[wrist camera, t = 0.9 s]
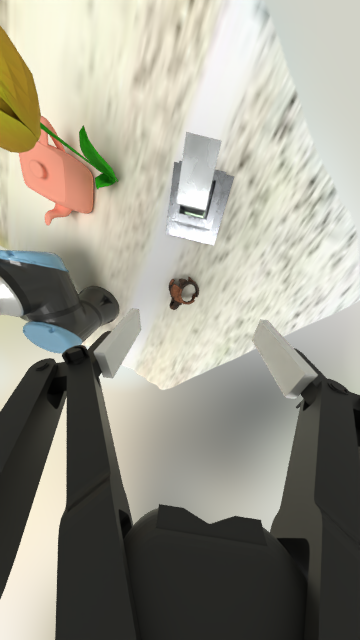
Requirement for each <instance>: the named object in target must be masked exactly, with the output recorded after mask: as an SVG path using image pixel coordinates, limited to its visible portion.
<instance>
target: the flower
mask: <svg viewBox="0 0 360 640" xmlns="http://www.w3.org/2000/svg"><path fill="white" fill-rule="evenodd" d="M40 119H41V113H40V108H39V102H38V95H37V91H36V87H35V83H34V79H33V76H32V73H31V72H30V70H29V68H28V67H27V65H26V64H25V62H24V60H23V59H22V57H21V56H20V54H19V53H18V51H17V49H16V48H15V46H14V45H13V43H12V42H11V40H10V38H9V37H8V35H7V34H6V32H5V31H4V30H3V29H2V27H1V26H0V147H1V148H3V149H6V150H8V151H10V152H17V153H22V152H28V151H29V150H31V149H33V148H34V146H35V144H36V142H37V141H38V140H39V138H40V136H41V129H42V130H44V131H45V132H46V133H48V134H49V135H51V136H52V137H54V138H55V139H56V140H58V141H59V142H61V143H62V144H63V145H65V146H66V147H68V148H69V149H70V150H72V151H73V152H74V153H76V154H77V155H79V156H80V157H81V158H83V159H84V160H85V161H87V162H88V163H90V164H91V165H92V166H94V167H95V168H96V169H97V170H99V171H100V172H102V173H103V174H100V175H99V176H97V177H96V178H95V183H96V187H97V190H98V188H99V187H104V186H109V185H112V184H114V183H115V182H116V181H117V182H118V180H117V178H116V177H115V174H114V172H113V170H112V168H111V167H110V166H109V165H108V164H107V163H106V161H105V160H104V159H103V158H102V157H101V156H100V155H99V153H98V152H97V151H96V150H95V148H94V147H93V145H92V144H91V142H90V141H89V139H88V137H87V134H86V131H85V128H84V126H83V127H82V128H81V130H80V132H79V138H80V148H81V150H82V152H83V154H84V156H85V157H86V158H87V159H88V160H89V161H88V160H87V159H86V158H84V157H83V156H82V155H80V154H79V153H78V152H77V151H75V150H74V149H73V148H72V147H70V146H69V145H68V144H67V143H65V142H64V141H63V140H61V139H60V138H59V137H58V136H56V135H55V134H54V133H53V132H52V131H50V130H49V129H48V128H47V127H46V126H45V125H43V124H42V123H41V122H40ZM40 128H41V129H40Z"/></svg>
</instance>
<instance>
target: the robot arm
mask: <svg viewBox="0 0 360 640" xmlns="http://www.w3.org/2000/svg"><path fill="white" fill-rule="evenodd" d="M118 314H119V306H118V303H117V301H116V299H115V298H114V297H113V295H112V294H110V293H109V292H108V291H106V290H105V289H103V288H100V287H88V288H86V289H84V290H82V291H81V292H80V293H79V295H78V294H77V292H76V289H75V287H74V285H73V283H72V280H71V278H70V276H69V274H68V270H67V269H66V267H65V265H64V263H63V261H62V260H61V258H60V257H59V256H58V255H56V254H54V253H50V252H36V251H10V250H0V315H10V316H16V317H20V316H23V315H27V317H28V318H29V320H30V322H28V323H26V325H25V326H24V327H23V333H24V334H25V336H26V337H27V338H28V339H29V340H30V341H31V342H32V343H34V344H35V345H37V346H39V347H41V348H43V349H45V350H48V351H50V352H54V353H63V354H62V357H63V359H64V361H65V362H61V363H56V362H55V360H54V359H51V358H49V359H44V360H41V361H39V362H37V363H35V364H34V365H32V366H31V367H30V368H29V369H28V371H27V372H26V374H25V376H24V377H23V378H22V380H21V382H20V383H19V385H18V386H17V388H16V389H15V390H14V392H13V393H12V395H11V396H10V398H9V399H8V401H7V403H6V404H5V406H4V407H3V409H2V410H1V412H0V599H1V596H2V594H3V591H4V589H5V586H6V583H7V580H8V577H9V575H10V572H11V569H12V566H13V563H14V560H15V557H16V554H17V551H18V548H19V545H20V542H21V538H22V535H23V532H24V529H25V526H26V522H27V519H28V516H29V513H30V510H31V507H32V503H33V500H34V497H35V494H36V491H37V488H38V485H39V482H40V478H41V475H42V472H43V469H44V466H45V463H46V459H47V456H48V453H49V450H50V447H51V444H52V441H53V437H54V434H55V431H56V428H57V425H58V421H59V419H60V415H61V412H62V409H63V406H64V403H65V399H66V396H67V501H66V508H65V511H64V513H63V515H62V518H61V522H60V526H59V537H58V568H57V601H56V637H55V640H360V395H357V394H354V393H351V392H349V391H348V390H347V389H346V388H345V387H344V386H343V385H341V384H340V383H338V382H336V381H334V380H331V379H327V378H326V377H325V376H324V375H323V374H322V373H321V372H320V371H319V370H318V369H317V368H316V367H315V366H314V365H313V364H312V363H311V362H310V361H309V360H308V359H307V358H306V357H305V355H304V354H302V353H301V352H300V351H298V350H297V349H295V348H293V347H292V346H291V345H290V344H289V343H288V342H287V341H286V340H285V339H284V337H283V336H282V335H281V334H280V333H279V332H278V331H277V330H276V329H275V328H274V327H273V325H272V324H271V323H270V322H269V321H268V320H260V322H259V324H258V326H257V329H256V331H255V333H254V336H253V338H252V341H253V343H254V345H255V346H256V348H257V350H258V352H259V353H260V355H261V357H262V358H263V360H264V362H265V363H266V365H267V367H268V369H269V370H270V372H271V374H272V376H273V377H274V379H275V381H276V382H277V384H278V386H279V388H280V389H281V391H282V393H283V395H284V396H285V398H294V399H296V398H297V397H298V396H299V395H300V394H301V395H302V397H303V398H304V399H303V400H302V401H301V402H300V403H299V404H298V405H297V406H296V408H299V407H300V411H299V416H298V421H297V426H296V431H295V436H294V441H293V446H292V451H291V456H290V461H289V466H288V471H287V477H286V481H285V486H284V492H283V497H282V502H281V506H280V509H279V512H278V513H277V515H276V516H275V518H274V521H273V523H272V526H271V530H270V532H268V531H267V530H266V529H265V528H263V527H262V523H261V520H257V519H251V518H244V517H238V516H234V517H231V518H227V519H224V520H221V521H218V522H215V523H212V524H208V523H206V522H205V521H203V520H202V519H200V518H198V517H197V516H195V515H194V514H192V513H190V512H189V511H187V510H186V509H184V508H179V507H173V506H167V505H160V504H159V508H158V509H155V510H152V511H150V512H148V513H147V514H145V515H144V516H143V517H141V518H140V519H139V520H138V521H137V522H136V523H135V524H134V526H133V522H132V518H131V513H130V509H129V504H128V500H127V497H126V493H125V491H124V487H123V484H122V480H121V475H120V470H119V466H118V461H117V457H116V452H115V447H114V443H113V438H112V434H111V429H110V425H109V420H108V416H107V411H106V407H105V402H104V397H103V393H102V388H101V384H100V379H99V376H100V374H101V373H102V375H103V377H106V378H113V377H114V376H115V374H116V372H117V370H118V369H119V367H120V365H121V364H122V362H123V360H124V358H125V357H126V355H127V353H128V351H129V350H130V348H131V346H132V345H133V343H134V341H135V339H136V338H137V336H138V334H139V332H140V331H141V324H140V316H139V309H131V310H130V311H129V312H128V314H127V315H126V316H125V317H124V318H123V319H122V320H121V321H120V323H119V324H118V325H117V326H116V327H115V328H114V329H113V330H112V331H107V332H105V333H104V334H102V335H101V336H100V337H99V339H97V340H96V341H95V342H94V343H93V344H92V345H91V346H90V348H89V349H88V350H87V349H86V347H85V346H83V345H81V344H82V342H84V341H85V340H86V339H87V338H88V337H89V336H90V335H91V334H92V333H93V332H94V331H95V330H96V329H98V328H99V327H100V326H102V325H104V324H107V323H110V322H112V321H113V320H114V319H115V318H116V317H117V316H118Z"/></svg>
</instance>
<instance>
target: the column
mask: <svg viewBox="0 0 360 640" xmlns="http://www.w3.org/2000/svg"><path fill="white" fill-rule="evenodd" d="M220 145H221V141H220V140H216V139H212V138H208V137H204V136H200V135H196V134H192V133H188V132H186V138H185V145H184V152H183V159H182V166H181V174H180V181H179V188H178V195H177V204H178V205H182V206H183V207H184V210H185V215H188V216H192V217H196V218H200V219H203V216H204V212H205V209H206V205H207V201H208V196H209V192H210V188H211V184H212V179H213V175H214V171H215V166H216V162H217V158H218V154H219V149H220Z"/></svg>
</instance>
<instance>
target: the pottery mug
mask: <svg viewBox="0 0 360 640" xmlns="http://www.w3.org/2000/svg"><path fill="white" fill-rule="evenodd" d="M173 282H174V279H172V280H171V281H170V284H169V291H170V294H171V297H172V301H171V303H170V308H171V309H173V310H175V309H177V308H178V307H179V305H182V303H183V304H191V303H193V302H194V301H195V300H194V299H195V297H198V295H199V288H198V286H197V284H196V282H195V281H193V280H192V279H191V278H190V277H188V281H187V280H185V279H179V282H180V287H178V286H177V285H176V284H174V285H173V286H172V283H173ZM189 284H192V285H194V286H195V289H196V293H195V294H193V296H192V300H190V301H188V302H185V301H183V299H182V297H181V293H182V290H183V288H184V287H185V286H187V285H189Z"/></svg>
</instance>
